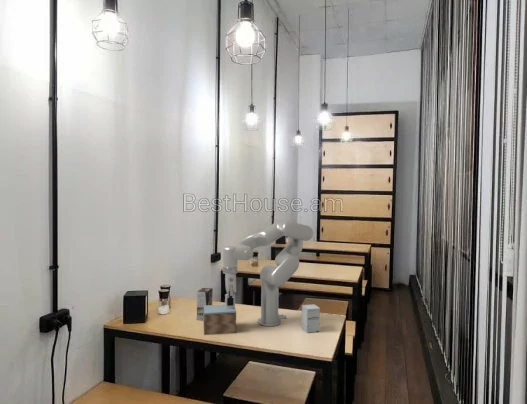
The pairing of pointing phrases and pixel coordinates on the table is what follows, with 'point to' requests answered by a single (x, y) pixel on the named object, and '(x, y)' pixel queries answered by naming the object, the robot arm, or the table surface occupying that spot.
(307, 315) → the supplement box
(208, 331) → the walnut box
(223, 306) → the lid
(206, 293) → the coffee box
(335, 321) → the table surface
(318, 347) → the table surface
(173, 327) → the table surface
